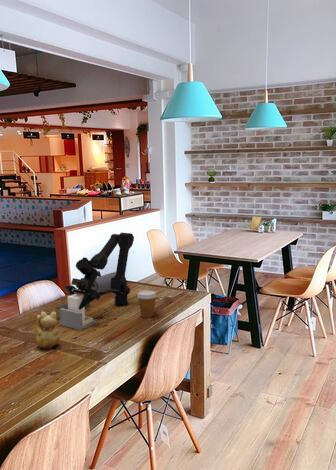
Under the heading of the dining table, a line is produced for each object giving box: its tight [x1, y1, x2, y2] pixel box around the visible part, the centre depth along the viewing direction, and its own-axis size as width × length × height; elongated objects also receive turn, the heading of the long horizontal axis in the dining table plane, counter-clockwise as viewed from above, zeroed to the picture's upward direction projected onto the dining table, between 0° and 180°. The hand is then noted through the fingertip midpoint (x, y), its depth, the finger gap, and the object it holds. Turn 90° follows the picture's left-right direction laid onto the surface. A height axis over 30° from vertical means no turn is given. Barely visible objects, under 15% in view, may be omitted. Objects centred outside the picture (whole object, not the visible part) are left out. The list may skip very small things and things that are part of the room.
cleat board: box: [59, 308, 97, 331], centre depth 203 cm, size 11×13×8 cm
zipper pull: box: [55, 302, 91, 310], centre depth 220 cm, size 9×7×25 cm
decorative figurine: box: [35, 311, 61, 350], centre depth 177 cm, size 10×8×15 cm
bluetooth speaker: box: [91, 271, 116, 294], centre depth 256 cm, size 23×9×10 cm, turn 145°
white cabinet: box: [67, 294, 86, 322], centre depth 202 cm, size 6×6×13 cm
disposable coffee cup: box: [136, 289, 157, 318], centre depth 213 cm, size 10×10×12 cm
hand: (74, 307), depth 200 cm, fingers open, 6 cm apart
